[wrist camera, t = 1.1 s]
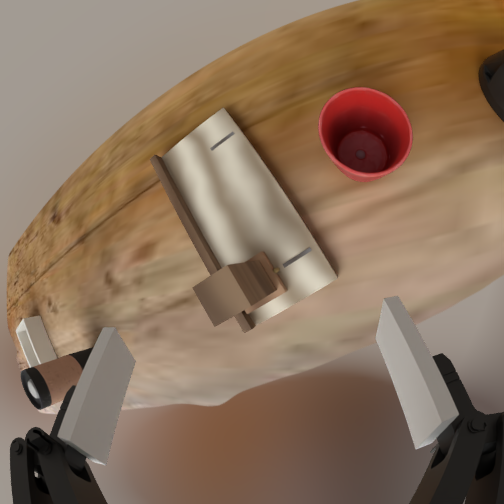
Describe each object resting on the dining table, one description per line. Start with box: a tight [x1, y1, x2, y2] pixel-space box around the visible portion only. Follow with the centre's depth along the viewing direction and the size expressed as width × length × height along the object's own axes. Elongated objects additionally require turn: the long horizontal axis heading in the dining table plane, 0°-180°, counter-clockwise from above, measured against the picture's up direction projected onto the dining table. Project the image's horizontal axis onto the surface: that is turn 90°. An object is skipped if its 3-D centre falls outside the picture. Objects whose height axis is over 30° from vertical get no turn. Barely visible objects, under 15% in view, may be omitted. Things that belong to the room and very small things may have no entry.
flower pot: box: [318, 87, 413, 182], centre depth 31 cm, size 11×11×10 cm
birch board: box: [150, 108, 338, 333], centre depth 39 cm, size 14×30×4 cm, turn 32°
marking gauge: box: [193, 251, 288, 326], centre depth 32 cm, size 7×6×12 cm
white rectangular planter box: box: [16, 315, 57, 368], centre depth 56 cm, size 9×19×6 cm, turn 32°
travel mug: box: [21, 347, 94, 410], centre depth 41 cm, size 8×8×20 cm
